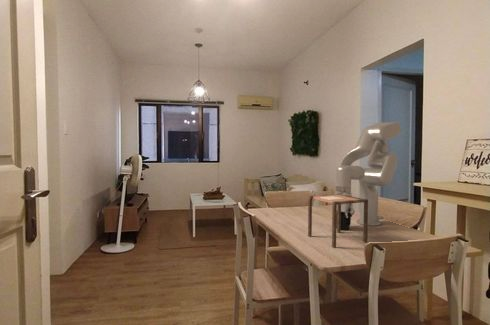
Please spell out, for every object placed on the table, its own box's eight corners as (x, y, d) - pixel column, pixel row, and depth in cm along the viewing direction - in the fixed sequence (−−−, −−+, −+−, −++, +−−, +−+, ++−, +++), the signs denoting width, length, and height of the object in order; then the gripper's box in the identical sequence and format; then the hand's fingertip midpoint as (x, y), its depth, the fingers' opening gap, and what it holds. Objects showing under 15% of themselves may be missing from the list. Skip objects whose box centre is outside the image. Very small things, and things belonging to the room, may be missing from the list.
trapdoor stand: (338, 232, 150) (339, 194, 149) (367, 242, 133) (368, 199, 132) (308, 236, 143) (308, 196, 142) (333, 247, 126) (334, 202, 125)
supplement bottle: (346, 227, 160) (347, 205, 159) (351, 230, 153) (352, 207, 153) (334, 227, 160) (334, 205, 159) (338, 230, 153) (339, 207, 152)
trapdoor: (339, 196, 147) (339, 194, 147) (361, 201, 133) (361, 198, 133) (313, 198, 141) (313, 196, 141) (334, 203, 127) (334, 201, 127)
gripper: (327, 188, 162) (326, 220, 163) (349, 192, 146) (349, 227, 147) (337, 187, 165) (337, 219, 166) (361, 191, 149) (360, 226, 150)
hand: (342, 222), depth 156 cm, fingers closed on supplement bottle, 6 cm apart
